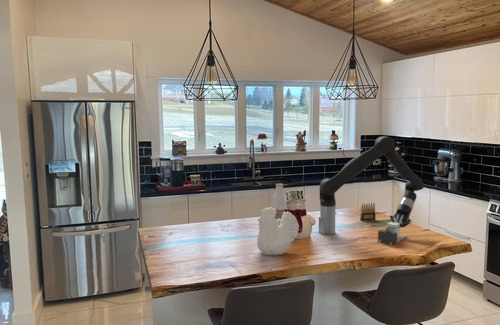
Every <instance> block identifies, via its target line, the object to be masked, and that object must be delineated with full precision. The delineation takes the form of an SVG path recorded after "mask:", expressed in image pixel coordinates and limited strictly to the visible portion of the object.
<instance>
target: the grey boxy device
mask: <svg viewBox="0 0 500 325" xmlns="http://www.w3.org/2000/svg"><path fill="white" fill-rule="evenodd" d="M377 233H378V235H377V238H378V239H377V242H379V243H383V244H387V245H391V246H394V245H396V244H398V243H400V242H402V241H404V240H406V239H408V236H407V234H405V235H399V238H397V233H396V232H391V231H390V226H387V225H385V228H384V229H380V230H378V231H377Z"/></svg>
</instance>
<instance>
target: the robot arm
mask: <svg viewBox="0 0 500 325" xmlns="http://www.w3.org/2000/svg"><path fill="white" fill-rule="evenodd" d="M394 147H395V141H394V139H393V138H392V137H389V136H385V135H383V136H379V137H377V138H376V140H375V142H374V145H373V146H372V147H371V148H370V149H368V150H366V151H363V152H362V153H360V154H358V155H356V156H354V157H353V158H352V159H351V160H349V161H348V162H347V163H346V164H345V165H344V166H343V167H342V168H341V170H340V171H339V172H338V173H337V174H336V175H334V176H333V177H331V178H324V179H322V180H321V181H320V184H319V203H320V204H319V205H320V206H319V211H320V212H319V217H318V233H320V234H322V235H334V234H335V233H336V208H337V207H336V203H337V202H336V196H335V195H336V194H335V193H337V192H338V191H339V190H340V189H341V188H342V187H343V186H344V185H346V183H348V182H350V181H351V180H353V179H354V178H355V177H356V176H357V175H360V173H362V172H363V171H365V169H367V168H368V167H370V166H371V165H372V164H373V163H375V162H376V160H378V159H379V158H381V157H382V156H384V157H385V159H387V161H389V163H390V164H391V165H392V167H393V168H394V170H395V171H396V172H397V173H398V175H399V176H400V178H401V179H402V180H404V181H406V183H405V186H404V194H403V196H402V198H401V200H400V202H399V204H398V206H397V209H396V212H395V213H394V215H389V218H390V220H391V221H390V222H394V223H399V224H400V228H399V230H400V229H401V228H405V227H407V226H408V225H410V224H411V223H412V220H411V219H410V216H411V213H412V211H413V208H414V205H415V202H416V199H417V198H418V196H417V193H416V192H417V191H421V190H423V189H424V187H425V184H424V181H423V179H422V178H420V177H419V175H417V174H416V173H415V172H413V171H412V169H411V168H410V167H409V166H408V164H407V163H406V162H405V161H404V160H403V159H402V157H401V156H399V154H397V152H396V151H395V150H394Z"/></svg>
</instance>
